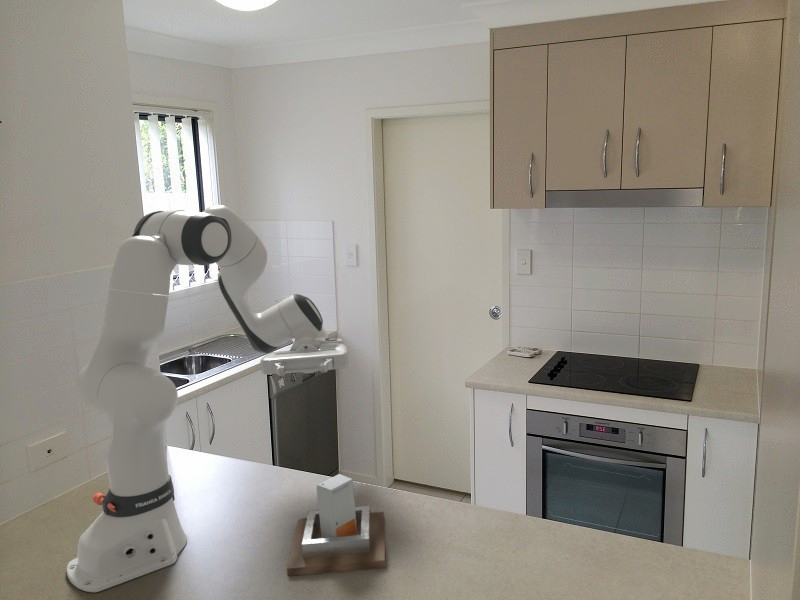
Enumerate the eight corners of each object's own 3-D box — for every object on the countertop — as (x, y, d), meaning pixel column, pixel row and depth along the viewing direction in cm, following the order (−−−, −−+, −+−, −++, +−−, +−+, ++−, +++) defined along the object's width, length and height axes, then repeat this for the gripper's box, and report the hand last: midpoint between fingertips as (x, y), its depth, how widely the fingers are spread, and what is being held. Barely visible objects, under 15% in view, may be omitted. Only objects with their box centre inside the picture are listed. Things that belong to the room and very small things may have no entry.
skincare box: (335, 548, 130) (329, 490, 127) (321, 541, 132) (315, 484, 130) (358, 534, 134) (353, 478, 132) (344, 527, 137) (338, 472, 134)
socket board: (287, 575, 124) (285, 553, 124) (298, 525, 142) (296, 505, 141) (385, 567, 125) (383, 545, 124) (384, 518, 142) (382, 498, 141)
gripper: (263, 344, 162) (253, 360, 149) (348, 338, 163) (346, 353, 149) (266, 369, 164) (256, 387, 150) (351, 363, 164) (348, 380, 150)
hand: (301, 370), depth 150 cm, fingers open, 8 cm apart
